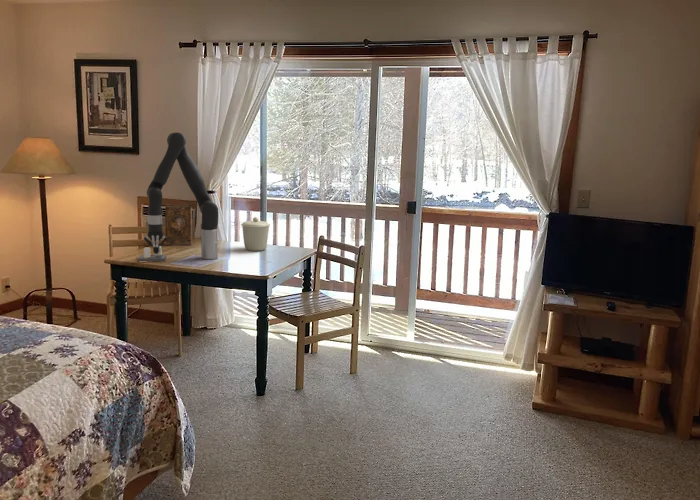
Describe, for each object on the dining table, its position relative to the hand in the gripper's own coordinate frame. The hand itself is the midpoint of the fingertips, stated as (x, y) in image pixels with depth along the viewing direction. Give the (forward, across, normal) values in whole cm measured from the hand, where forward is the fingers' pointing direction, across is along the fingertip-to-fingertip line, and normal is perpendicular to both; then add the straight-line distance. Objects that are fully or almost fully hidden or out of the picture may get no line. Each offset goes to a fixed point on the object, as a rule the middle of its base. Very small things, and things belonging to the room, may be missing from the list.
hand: (156, 253), depth 314 cm
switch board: (+4, +2, -3) cm, 6 cm away
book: (+5, -9, -48) cm, 49 cm away
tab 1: (+2, +5, 0) cm, 5 cm away
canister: (+5, -57, -32) cm, 65 cm away
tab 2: (+2, -1, -5) cm, 6 cm away
